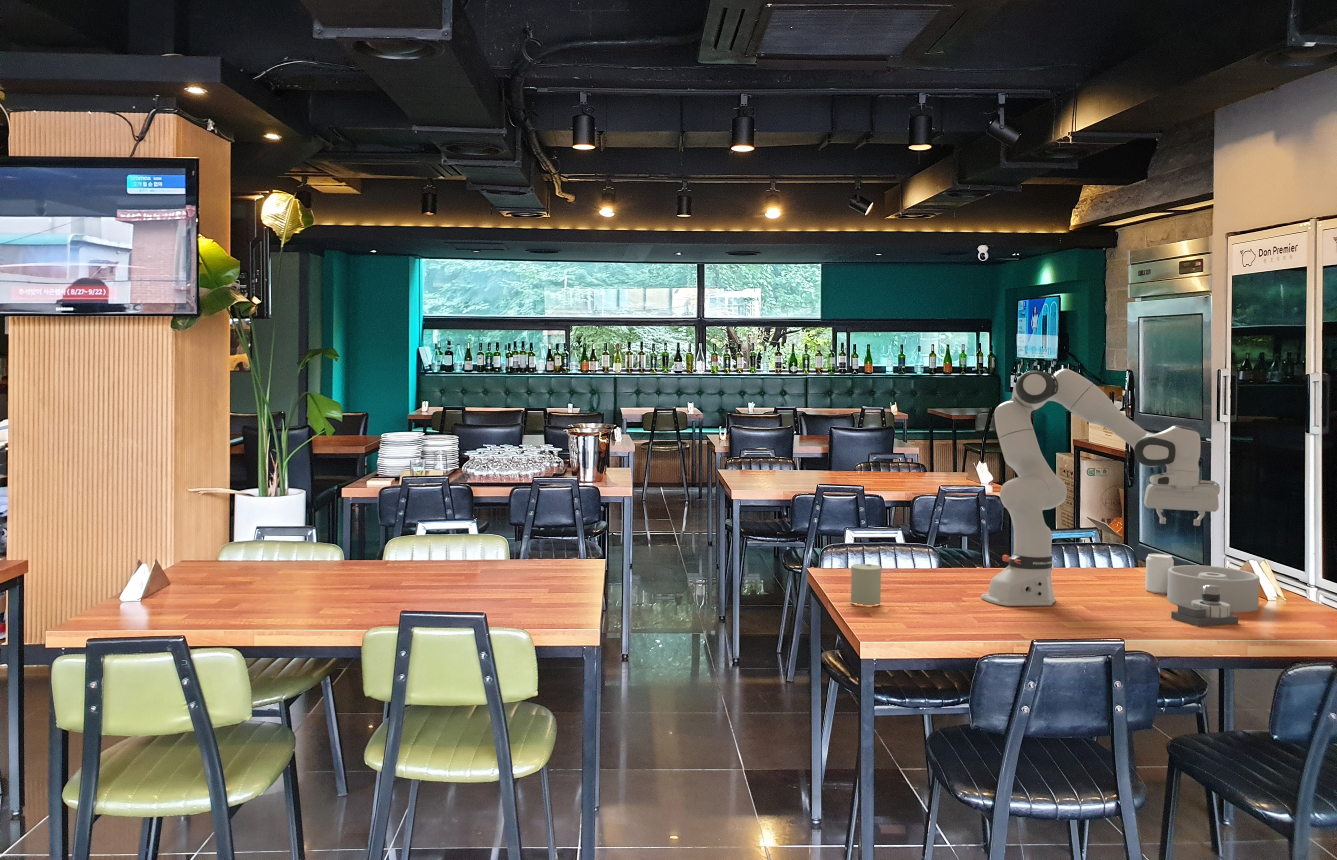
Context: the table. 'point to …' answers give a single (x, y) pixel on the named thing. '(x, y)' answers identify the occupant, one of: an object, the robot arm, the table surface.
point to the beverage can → (1158, 572)
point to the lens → (1211, 595)
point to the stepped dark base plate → (1204, 614)
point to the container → (1233, 584)
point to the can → (866, 584)
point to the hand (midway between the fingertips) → (1179, 524)
